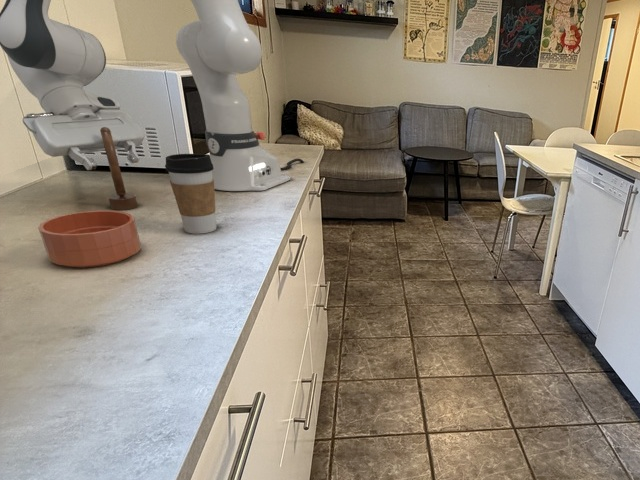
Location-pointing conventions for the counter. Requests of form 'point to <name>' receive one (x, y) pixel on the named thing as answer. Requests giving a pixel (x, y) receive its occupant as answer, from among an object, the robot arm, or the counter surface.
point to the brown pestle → (116, 176)
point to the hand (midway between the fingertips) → (115, 164)
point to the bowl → (90, 238)
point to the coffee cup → (193, 190)
